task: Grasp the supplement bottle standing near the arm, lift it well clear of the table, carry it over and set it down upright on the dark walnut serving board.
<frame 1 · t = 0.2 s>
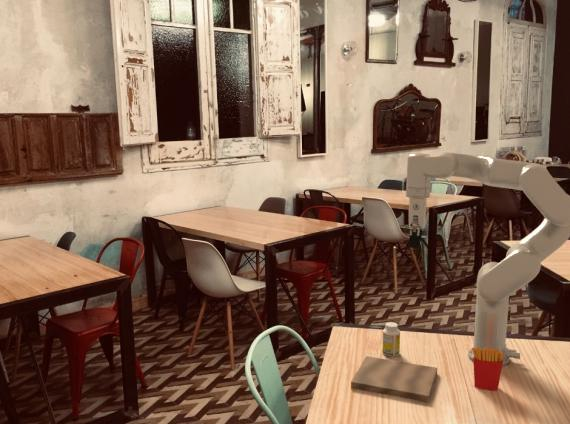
hand: (415, 244, 182), 36 cm above the table, tool pointing down, fingers open, 9 cm apart
walnut board: (395, 380, 165), on the table
french fries: (485, 387, 161), on the table
supplement bottle: (390, 354, 184), on the table
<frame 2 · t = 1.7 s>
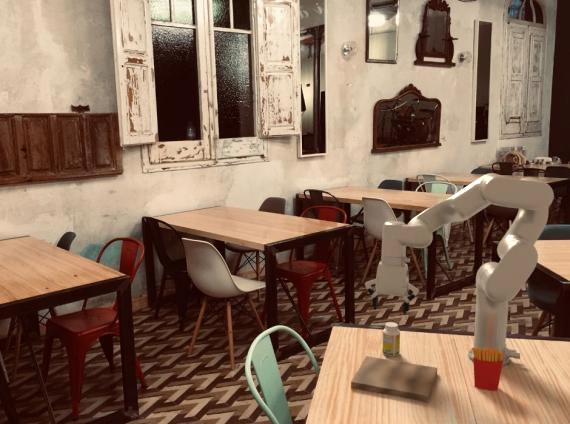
hand: (390, 310, 181), 15 cm above the table, tool pointing down, fingers open, 9 cm apart
nothing on the table moved.
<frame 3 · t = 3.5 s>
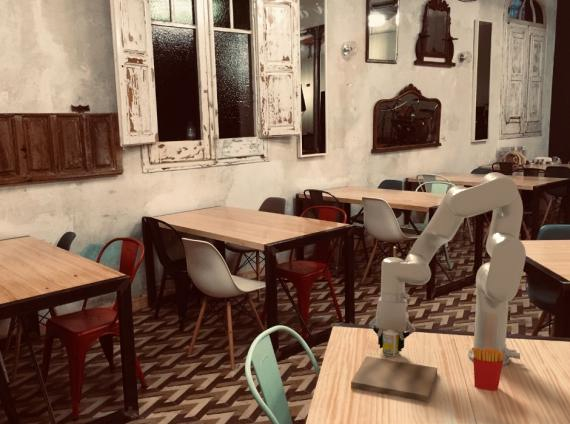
hand: (391, 347, 183), 2 cm above the table, tool pointing down, fingers closed on supplement bottle, 5 cm apart
supplement bottle: (390, 354, 184), on the table, touching gripper
everything else where it was.
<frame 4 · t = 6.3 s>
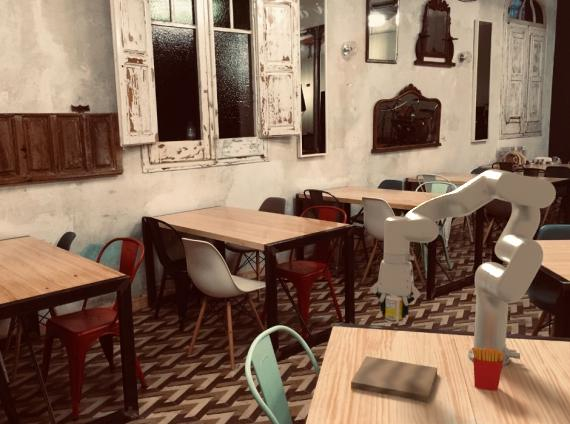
hand: (394, 314, 170), 18 cm above the table, tool pointing down, fingers closed on supplement bottle, 5 cm apart
supplement bottle: (394, 321, 171), point 15 cm above the table, touching gripper
everything else where it was.
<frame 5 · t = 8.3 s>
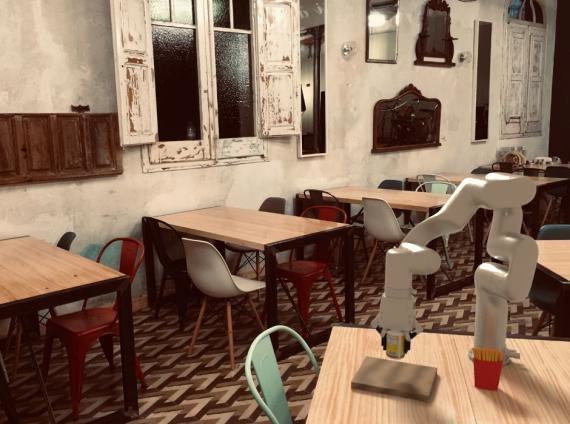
hand: (395, 349, 163), 10 cm above the table, tool pointing down, fingers closed on supplement bottle, 5 cm apart
supplement bottle: (395, 356, 164), point 8 cm above the table, touching gripper
everything else where it was.
when the fingers open (5 cm above the table, at t = 9.6 s): supplement bottle drops 1 cm, resting on walnut board.
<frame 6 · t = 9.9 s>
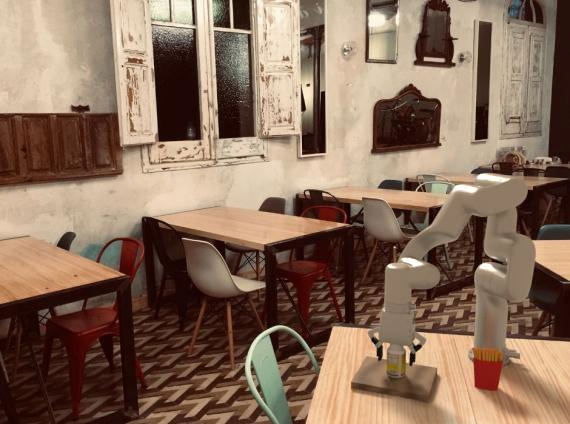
hand: (395, 361, 164), 6 cm above the table, tool pointing down, fingers open, 8 cm apart
supplement bottle: (395, 375, 165), point 2 cm above the table, touching walnut board
everything else where it was.
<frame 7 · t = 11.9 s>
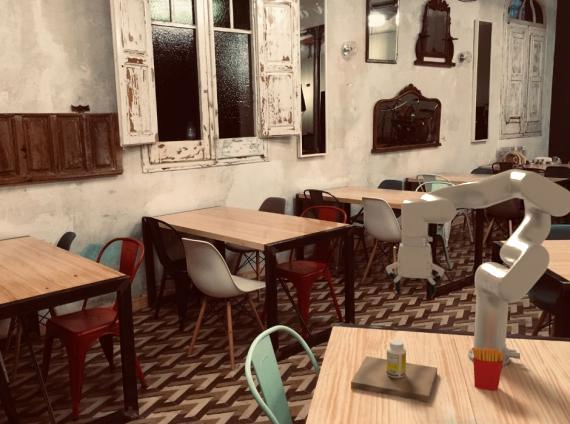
hand: (414, 294, 170), 24 cm above the table, tool pointing down, fingers open, 9 cm apart
nothing on the table moved.
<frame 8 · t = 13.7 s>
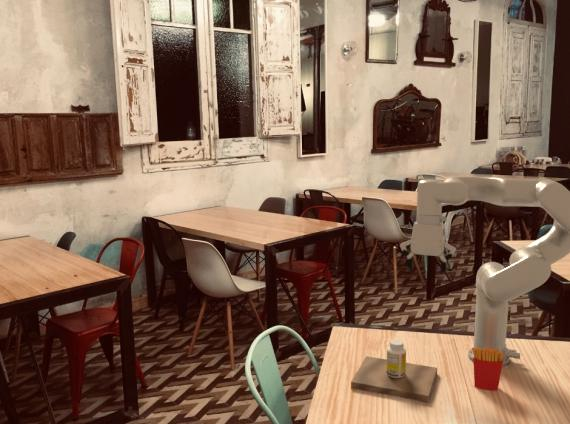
hand: (426, 271, 177), 28 cm above the table, tool pointing down, fingers open, 9 cm apart
nothing on the table moved.
at the end: supplement bottle inside the target area on the walnut board (0.1 cm from its centre), point 1.8 cm above the walnut board's base; supplement bottle tilted 0°; the gripper is holding nothing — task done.
